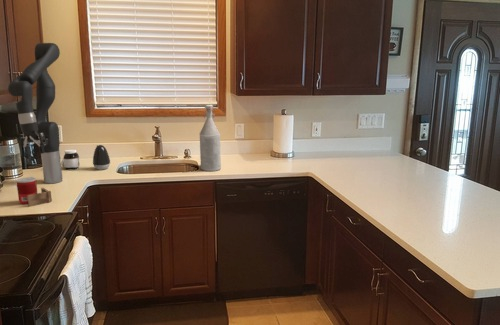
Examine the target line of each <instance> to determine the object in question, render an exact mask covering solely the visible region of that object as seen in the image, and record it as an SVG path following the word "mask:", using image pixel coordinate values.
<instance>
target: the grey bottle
mask: <svg viewBox="0 0 500 325" xmlns="http://www.w3.org/2000/svg"><path fill="white" fill-rule="evenodd" d="M204 109H206V111H205V113H204V115H203V118H204V119H205V122H204V123H203V126H202V128H201V130H200V132H199V152H200V155H199V156H200V159H199V160H200V170H202V171H205V172H215V171H216V172H217V171H220V170H221V169H222V167H221V166H222V165H221V164H222V163H221V133H220V131H219V130H218V127H217V126H216V123H215V122H214V119H213V118H215V116H216V114H215V113H213V110H215V107H214V105H213V104H207V105H205V107H204Z"/></svg>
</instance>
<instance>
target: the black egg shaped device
mask: <svg viewBox="0 0 500 325" xmlns="http://www.w3.org/2000/svg"><path fill="white" fill-rule="evenodd" d="M107 150H108V149H106V147H105V146H104V145H102V144H99V145H98V144H97V145H96V147H95V149H94V151H93V156H92V165H93V167H94V168H95V169H96V170H98V171H103V170H104V169H105V170H107V169H109V167H110V166H111V158H110V156H109V153H108V151H107Z"/></svg>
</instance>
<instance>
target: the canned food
mask: <svg viewBox="0 0 500 325" xmlns="http://www.w3.org/2000/svg"><path fill="white" fill-rule="evenodd" d="M16 189H17V196H18V202H19V204H20V205H28V197H27V195H32V194H38V193H39V192H38V186H37V179H36V177H33V176H28V177H22V178H18V179H16Z"/></svg>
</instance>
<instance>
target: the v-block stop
mask: <svg viewBox="0 0 500 325" xmlns="http://www.w3.org/2000/svg"><path fill="white" fill-rule="evenodd" d="M40 191H41V192H37V193H38V194H32V195H27V197H28V204H27V205H28V207H34V206H37V205H38V206H39V205H43V204H49V203H51V202H52V201H53V199H52V191H51V190H48V189H46V188H45V187H40Z"/></svg>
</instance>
